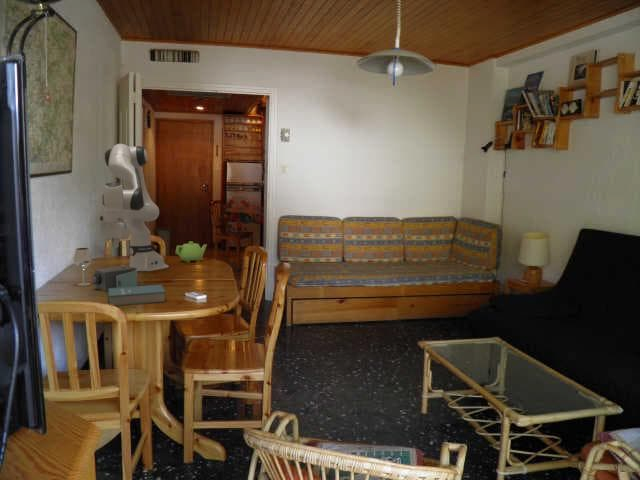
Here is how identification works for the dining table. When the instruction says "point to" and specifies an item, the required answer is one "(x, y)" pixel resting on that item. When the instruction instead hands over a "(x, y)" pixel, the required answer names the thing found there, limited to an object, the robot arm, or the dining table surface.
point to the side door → (127, 279)
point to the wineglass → (82, 261)
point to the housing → (109, 276)
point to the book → (136, 295)
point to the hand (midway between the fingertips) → (115, 247)
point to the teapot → (191, 252)
